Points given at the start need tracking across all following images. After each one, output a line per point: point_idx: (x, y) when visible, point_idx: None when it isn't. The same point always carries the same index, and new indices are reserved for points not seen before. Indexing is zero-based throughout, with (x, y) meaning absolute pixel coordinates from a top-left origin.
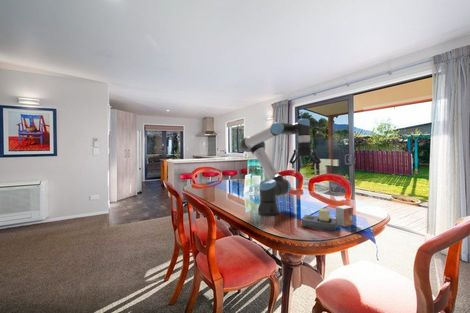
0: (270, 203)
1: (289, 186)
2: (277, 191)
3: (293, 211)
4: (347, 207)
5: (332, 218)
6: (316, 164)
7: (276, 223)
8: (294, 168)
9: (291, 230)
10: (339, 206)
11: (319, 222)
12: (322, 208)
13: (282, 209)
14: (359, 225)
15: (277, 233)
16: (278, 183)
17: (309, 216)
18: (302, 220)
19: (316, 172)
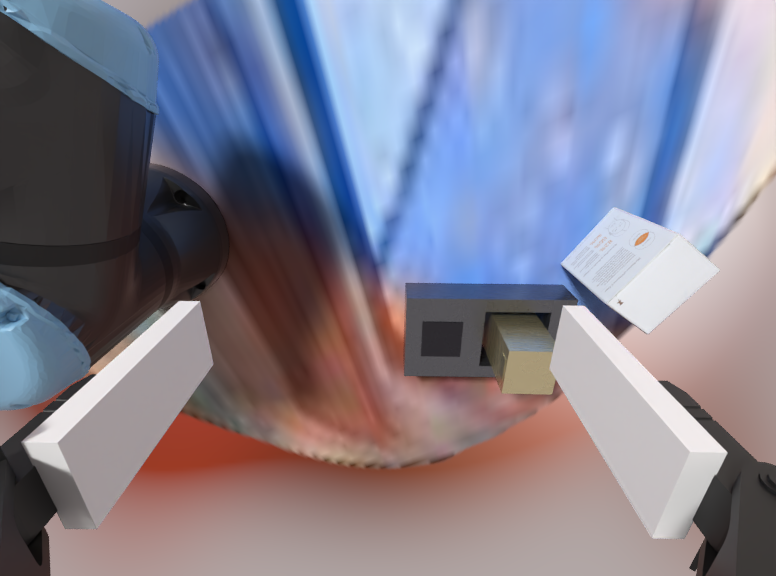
0: (161, 306)
1: (131, 68)
2: (128, 280)
3: (286, 126)
4: (681, 295)
5: (555, 301)
6: (705, 510)
7: (289, 367)
8: (161, 432)
9: (377, 409)
10: (633, 285)
11: (491, 376)
12: (520, 352)
13: (194, 109)
14: (678, 232)
15: (339, 449)
16: (41, 247)
17: (434, 317)
18: (410, 373)
19: (593, 323)
